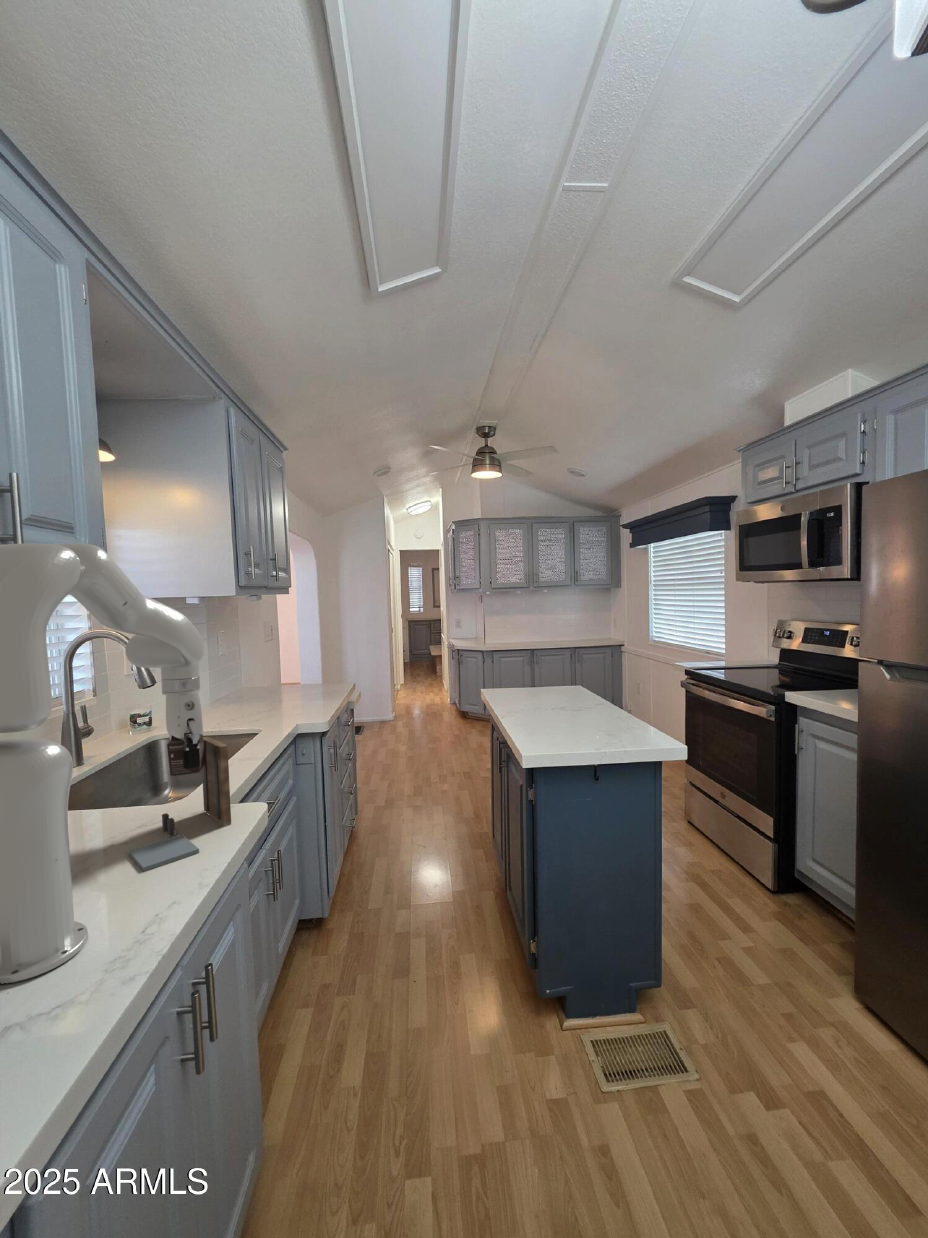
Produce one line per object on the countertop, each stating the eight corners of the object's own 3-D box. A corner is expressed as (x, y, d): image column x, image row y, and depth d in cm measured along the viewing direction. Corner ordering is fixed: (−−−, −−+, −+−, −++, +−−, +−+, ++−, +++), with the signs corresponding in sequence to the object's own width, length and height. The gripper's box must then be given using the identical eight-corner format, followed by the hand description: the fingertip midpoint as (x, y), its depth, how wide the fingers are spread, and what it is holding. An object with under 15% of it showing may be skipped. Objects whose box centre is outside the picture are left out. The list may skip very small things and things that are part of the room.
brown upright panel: (175, 841, 115) (171, 757, 114) (157, 825, 123) (153, 747, 122) (231, 824, 123) (227, 745, 122) (211, 810, 132) (207, 736, 131)
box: (169, 777, 119) (165, 744, 118) (178, 767, 124) (174, 736, 124) (199, 773, 120) (196, 741, 119) (206, 763, 126) (203, 732, 125)
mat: (143, 871, 103) (143, 867, 103) (128, 854, 110) (128, 850, 110) (199, 852, 110) (199, 849, 110) (182, 837, 117) (181, 834, 117)
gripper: (213, 687, 117) (217, 767, 118) (185, 680, 129) (188, 752, 130) (176, 692, 112) (180, 776, 113) (150, 684, 124) (154, 759, 125)
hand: (184, 763), depth 121 cm, fingers closed on box, 8 cm apart
